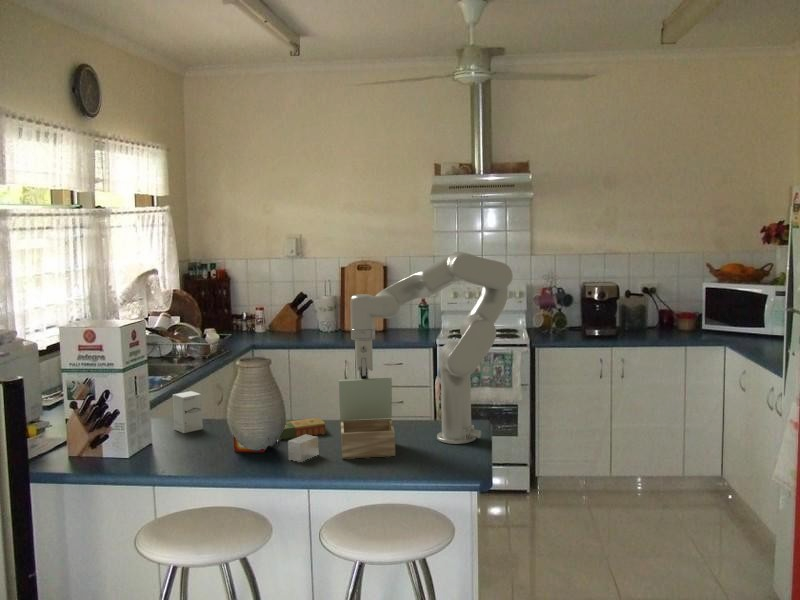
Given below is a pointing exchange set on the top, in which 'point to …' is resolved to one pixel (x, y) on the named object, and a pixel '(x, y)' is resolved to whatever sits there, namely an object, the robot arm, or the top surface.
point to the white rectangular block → (303, 448)
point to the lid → (365, 398)
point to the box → (367, 438)
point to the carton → (303, 428)
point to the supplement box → (187, 411)
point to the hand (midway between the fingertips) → (364, 391)
